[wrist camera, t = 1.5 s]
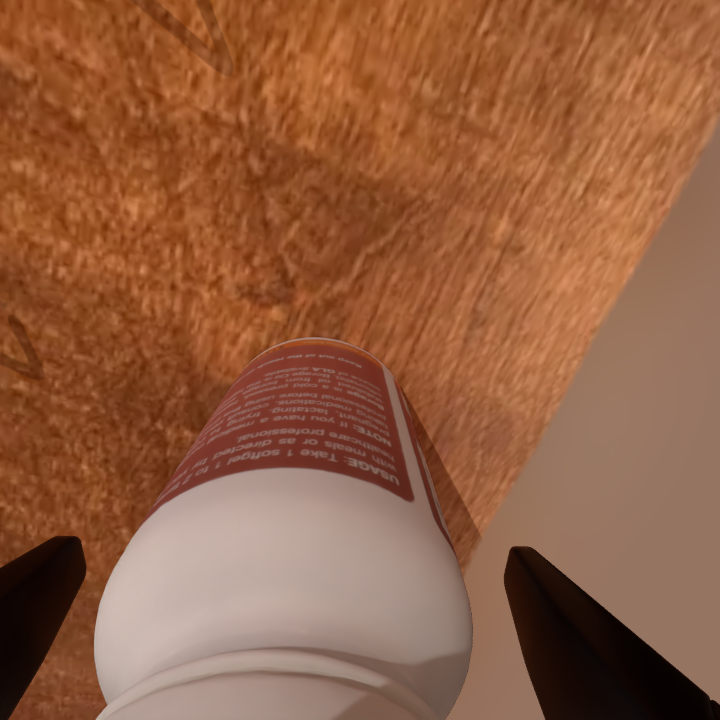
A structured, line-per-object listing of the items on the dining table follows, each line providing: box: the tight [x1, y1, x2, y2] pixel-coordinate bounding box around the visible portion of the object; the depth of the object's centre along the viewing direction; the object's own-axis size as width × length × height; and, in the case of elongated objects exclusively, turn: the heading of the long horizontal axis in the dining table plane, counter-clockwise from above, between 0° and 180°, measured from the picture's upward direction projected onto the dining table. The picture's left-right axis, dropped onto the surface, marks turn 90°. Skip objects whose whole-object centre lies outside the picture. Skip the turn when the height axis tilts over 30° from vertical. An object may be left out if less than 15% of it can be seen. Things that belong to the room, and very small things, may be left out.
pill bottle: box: [94, 337, 473, 720], centre depth 9 cm, size 6×6×11 cm
